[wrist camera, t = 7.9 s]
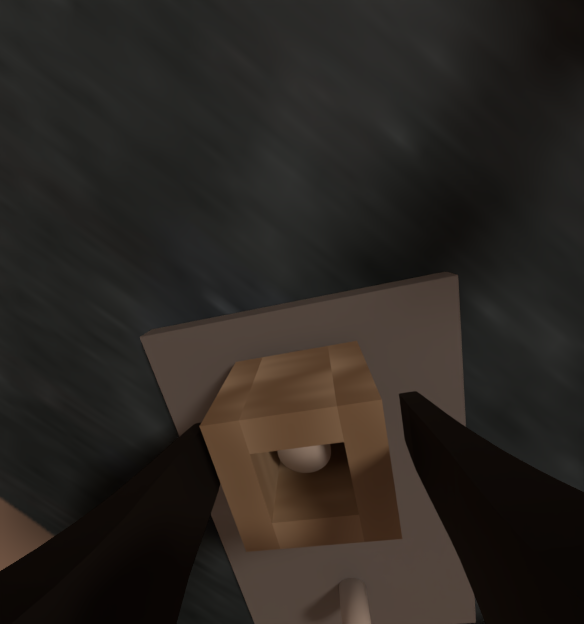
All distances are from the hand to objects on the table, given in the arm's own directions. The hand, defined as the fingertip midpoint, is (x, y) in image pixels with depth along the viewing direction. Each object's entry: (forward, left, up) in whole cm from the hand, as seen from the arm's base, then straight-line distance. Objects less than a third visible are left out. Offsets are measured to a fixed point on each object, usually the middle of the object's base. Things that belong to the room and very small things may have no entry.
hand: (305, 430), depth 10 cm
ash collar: (0, 0, -2) cm, 2 cm away
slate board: (0, +7, -4) cm, 8 cm away
